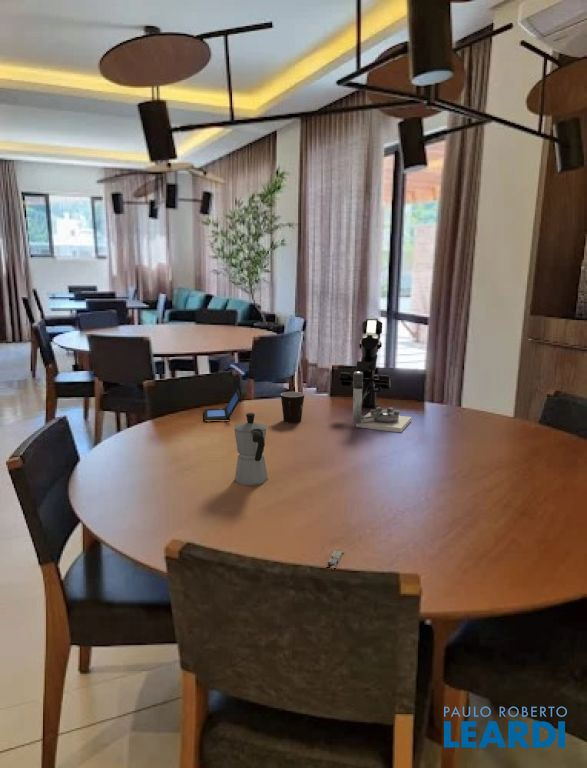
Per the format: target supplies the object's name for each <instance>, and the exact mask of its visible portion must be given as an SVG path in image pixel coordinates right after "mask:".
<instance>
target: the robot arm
mask: <svg viewBox="0 0 587 768" xmlns="http://www.w3.org/2000/svg"><path fill="white" fill-rule="evenodd" d="M361 327H362V328H361V332H362V333H361V334H362V336H361V337H362V338H361V339H360V340H359V349H360V350H361V359H360V360H359V361H356V366H355V371H360V372H363V388H362V407H366V408H373V409H374V408H376V407H378V405H379V403H378V402H377V393H380V392H382V390H391V387H392V381H391V376H390V375H385V374H379V369H378V367H377V360H378V352H379V350H380V349H381V348H382V345H383V344H382V341H381V340H380V339H381V334H383V322H382V321H380V320H379V318H376V317H375V318H374V317H368V318H366V320H364V321H362V326H361ZM338 380H339V383H340V386H341V387H348V388H349V387H350V386H353V376H352V374H351V372H340V373H339V375H338Z"/></svg>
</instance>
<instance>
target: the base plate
mask: <svg viewBox="0 0 587 768" xmlns="http://www.w3.org/2000/svg"><path fill="white" fill-rule="evenodd" d="M364 417H371V413H370V412H368V413H367V414H366V415H364V416H363V417H362V418H364ZM411 422H412V417H411V416H405V415H404V416H403V415H399V420H398V421H395V422H378V421H370V422H363V423H360V424H356V425H355V426H356V428H364V429H371V430H377V431H378V430H379V431H387V432H394V433H402V432H403V431H404V430H405V429H406V427H407V426H409V424H411Z"/></svg>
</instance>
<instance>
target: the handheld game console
mask: <svg viewBox="0 0 587 768" xmlns="http://www.w3.org/2000/svg"><path fill="white" fill-rule="evenodd" d="M241 398H242V397H241V393H240V390H239V389H238V388H236V390H235V392H234V393H233V395H232V396H231V398H230V400H229V402H228V403H227V404H226V405H225V407H221V408H219V407H217V408H204V409H203V410H204V411H203V414H204V416H203V417H204V418H203V419H205V420H230V421H231V419H230V418H231V416H232V415H233V414H234V411H235V409H236V408H237V407H238V405H239V403H240V401H241Z"/></svg>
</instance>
